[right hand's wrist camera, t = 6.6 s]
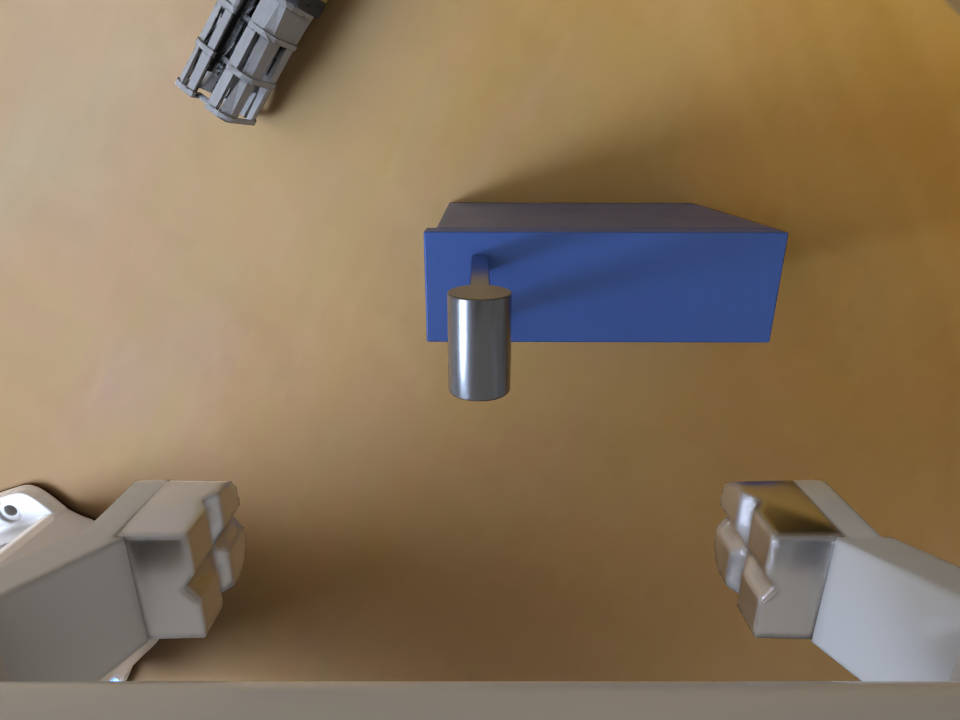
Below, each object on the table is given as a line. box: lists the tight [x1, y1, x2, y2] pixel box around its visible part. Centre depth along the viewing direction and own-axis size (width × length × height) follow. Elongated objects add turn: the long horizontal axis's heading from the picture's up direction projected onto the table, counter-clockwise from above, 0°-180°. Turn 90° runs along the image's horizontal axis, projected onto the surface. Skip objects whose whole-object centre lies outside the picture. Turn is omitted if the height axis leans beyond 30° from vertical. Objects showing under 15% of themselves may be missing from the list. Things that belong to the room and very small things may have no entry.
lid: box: [424, 228, 788, 401], centre depth 22 cm, size 15×5×9 cm, turn 90°
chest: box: [437, 203, 775, 229], centre depth 32 cm, size 14×5×11 cm, turn 90°
